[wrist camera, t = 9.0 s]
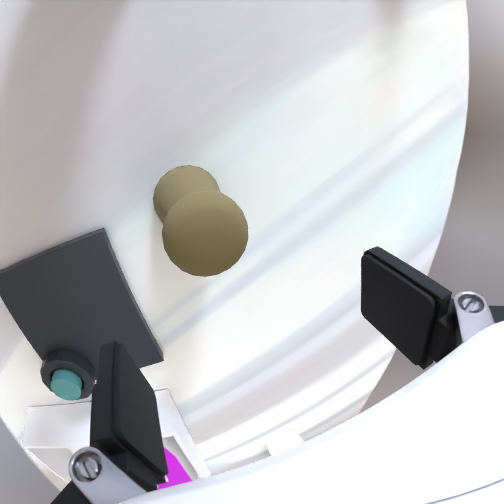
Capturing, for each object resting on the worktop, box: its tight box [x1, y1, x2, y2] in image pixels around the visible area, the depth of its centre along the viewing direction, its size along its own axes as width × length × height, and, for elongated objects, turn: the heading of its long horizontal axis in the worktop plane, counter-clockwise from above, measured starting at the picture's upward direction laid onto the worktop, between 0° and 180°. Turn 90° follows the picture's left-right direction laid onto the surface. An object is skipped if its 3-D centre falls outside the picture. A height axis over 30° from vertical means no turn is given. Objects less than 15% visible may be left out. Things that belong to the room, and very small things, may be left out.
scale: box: [0, 228, 164, 400], centre depth 25 cm, size 17×15×3 cm
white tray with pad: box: [21, 389, 213, 490], centre depth 35 cm, size 22×35×7 cm, turn 5°
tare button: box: [51, 368, 82, 400], centre depth 25 cm, size 4×4×2 cm
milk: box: [266, 430, 304, 456], centre depth 40 cm, size 6×6×22 cm
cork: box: [153, 165, 248, 277], centre depth 21 cm, size 6×6×11 cm
